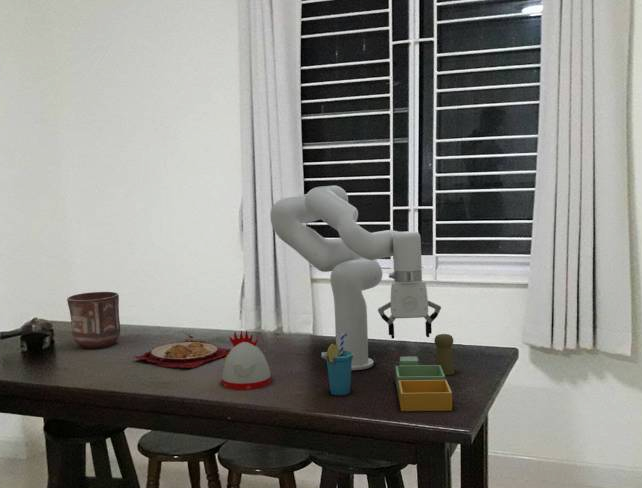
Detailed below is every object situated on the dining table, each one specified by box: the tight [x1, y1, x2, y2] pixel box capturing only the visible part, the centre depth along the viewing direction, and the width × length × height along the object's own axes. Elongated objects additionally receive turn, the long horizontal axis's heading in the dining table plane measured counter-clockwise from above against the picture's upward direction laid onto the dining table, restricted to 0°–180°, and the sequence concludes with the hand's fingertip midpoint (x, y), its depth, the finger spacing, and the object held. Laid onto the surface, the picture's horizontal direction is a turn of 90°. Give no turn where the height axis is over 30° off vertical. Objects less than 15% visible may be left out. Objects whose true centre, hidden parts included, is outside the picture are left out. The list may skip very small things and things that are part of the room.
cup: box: [325, 333, 353, 396], centre depth 203 cm, size 14×8×15 cm, turn 159°
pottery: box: [66, 291, 121, 350], centre depth 271 cm, size 18×18×18 cm
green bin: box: [394, 364, 446, 392], centre depth 204 cm, size 12×11×4 cm
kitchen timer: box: [221, 330, 272, 390], centre depth 216 cm, size 14×14×15 cm
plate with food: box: [133, 334, 232, 369], centre depth 249 cm, size 24×26×3 cm
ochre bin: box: [397, 379, 453, 412], centre depth 190 cm, size 12×11×4 cm
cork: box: [433, 333, 456, 376], centre depth 216 cm, size 6×6×11 cm
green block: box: [399, 356, 420, 366], centre depth 215 cm, size 5×5×5 cm
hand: (410, 336), depth 213 cm, fingers open, 9 cm apart
